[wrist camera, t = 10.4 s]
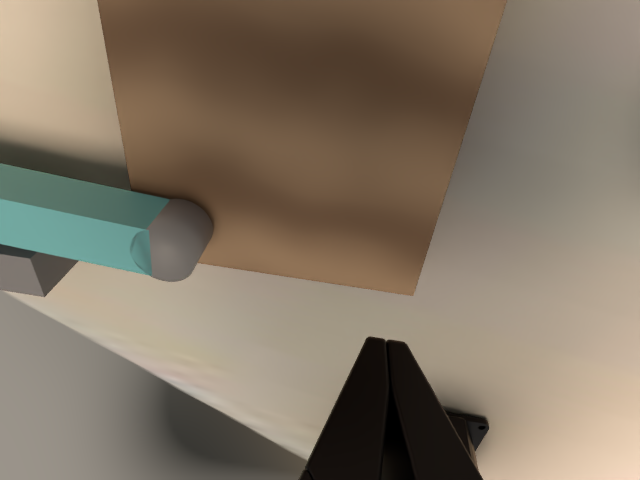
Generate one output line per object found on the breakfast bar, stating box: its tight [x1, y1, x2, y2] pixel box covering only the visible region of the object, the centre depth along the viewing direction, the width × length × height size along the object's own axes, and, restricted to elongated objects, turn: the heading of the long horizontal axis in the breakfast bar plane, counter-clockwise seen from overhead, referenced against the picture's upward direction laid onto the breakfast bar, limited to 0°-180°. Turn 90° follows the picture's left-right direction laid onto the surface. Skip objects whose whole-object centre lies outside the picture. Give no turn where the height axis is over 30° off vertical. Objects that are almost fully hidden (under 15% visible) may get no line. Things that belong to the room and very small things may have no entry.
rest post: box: [0, 244, 79, 297], centre depth 22 cm, size 2×6×4 cm, turn 84°
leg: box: [0, 163, 213, 282], centre depth 19 cm, size 16×3×2 cm, turn 80°
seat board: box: [97, 0, 507, 296], centre depth 17 cm, size 20×14×2 cm
